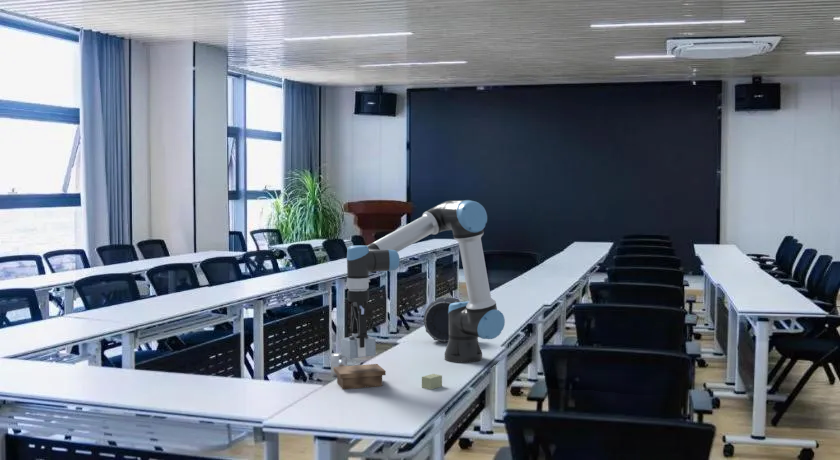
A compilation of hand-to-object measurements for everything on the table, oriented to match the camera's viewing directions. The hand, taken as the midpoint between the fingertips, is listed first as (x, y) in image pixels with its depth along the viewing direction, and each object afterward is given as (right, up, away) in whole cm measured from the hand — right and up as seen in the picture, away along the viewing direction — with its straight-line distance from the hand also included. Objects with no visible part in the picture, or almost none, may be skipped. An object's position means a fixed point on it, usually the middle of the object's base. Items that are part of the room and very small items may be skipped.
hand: (358, 354), depth 295 cm
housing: (0, 0, 0) cm, 0 cm away
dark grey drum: (+33, -6, +77) cm, 84 cm away
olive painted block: (+26, -11, -4) cm, 28 cm away
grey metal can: (-8, -10, +15) cm, 20 cm away
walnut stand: (0, -11, +1) cm, 11 cm away
